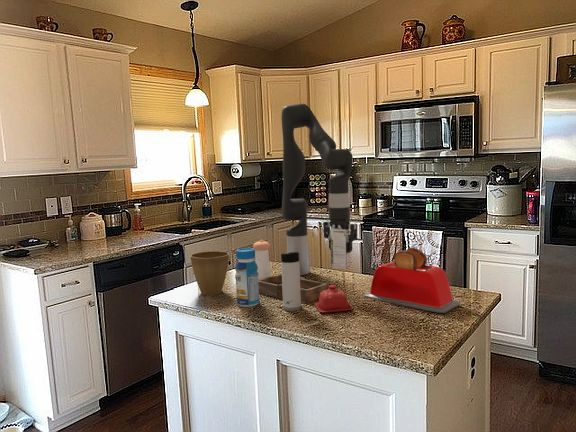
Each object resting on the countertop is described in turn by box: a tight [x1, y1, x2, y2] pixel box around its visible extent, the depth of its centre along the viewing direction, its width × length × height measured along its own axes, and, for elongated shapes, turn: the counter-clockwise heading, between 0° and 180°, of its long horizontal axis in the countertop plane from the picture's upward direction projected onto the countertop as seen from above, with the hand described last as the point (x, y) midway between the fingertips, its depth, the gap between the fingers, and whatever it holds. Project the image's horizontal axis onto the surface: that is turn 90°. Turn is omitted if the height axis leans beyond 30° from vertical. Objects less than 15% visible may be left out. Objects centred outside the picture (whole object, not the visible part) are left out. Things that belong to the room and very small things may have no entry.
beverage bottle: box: [234, 247, 260, 308], centre depth 173 cm, size 8×8×20 cm
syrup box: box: [330, 228, 351, 270], centre depth 174 cm, size 6×6×14 cm
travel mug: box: [280, 252, 302, 312], centre depth 166 cm, size 6×7×20 cm
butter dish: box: [314, 284, 353, 314], centre depth 164 cm, size 12×12×8 cm
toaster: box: [363, 247, 461, 314], centre depth 169 cm, size 32×13×19 cm, turn 46°
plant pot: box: [189, 250, 230, 297], centre depth 189 cm, size 15×15×16 cm
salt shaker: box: [252, 239, 272, 280], centre depth 199 cm, size 7×7×19 cm
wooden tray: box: [258, 273, 329, 305], centre depth 185 cm, size 15×26×5 cm, turn 45°
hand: (340, 251), depth 174 cm, fingers closed on syrup box, 7 cm apart
